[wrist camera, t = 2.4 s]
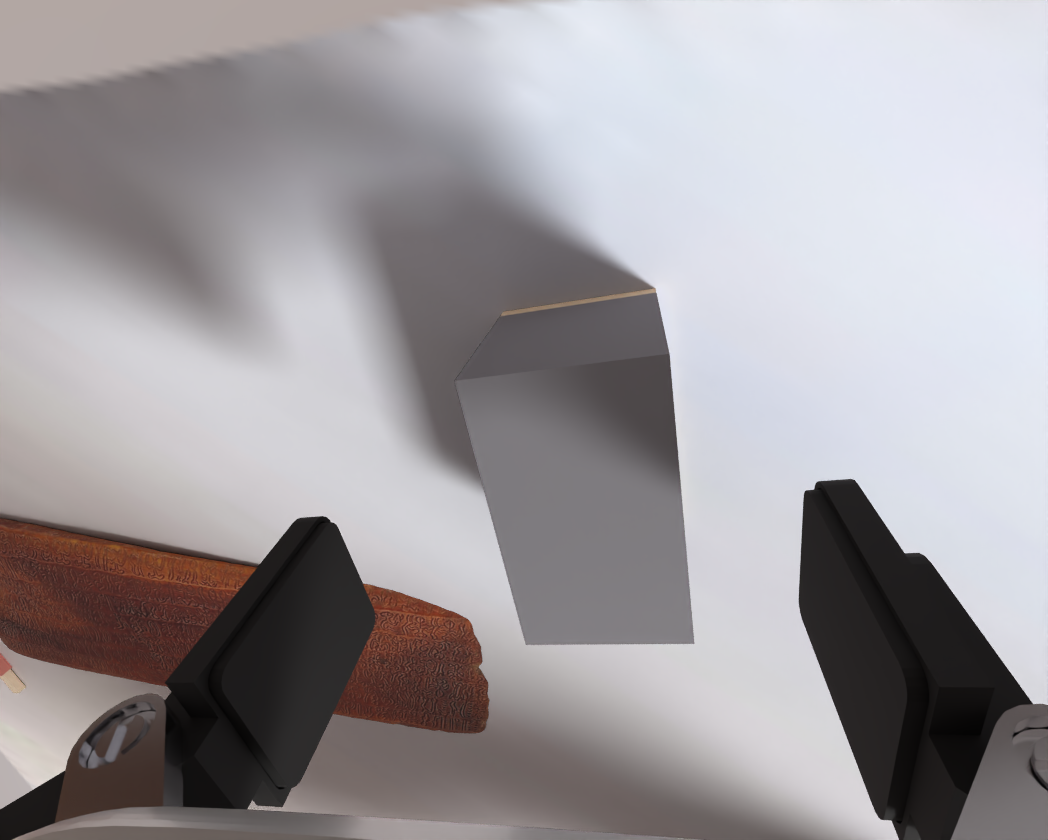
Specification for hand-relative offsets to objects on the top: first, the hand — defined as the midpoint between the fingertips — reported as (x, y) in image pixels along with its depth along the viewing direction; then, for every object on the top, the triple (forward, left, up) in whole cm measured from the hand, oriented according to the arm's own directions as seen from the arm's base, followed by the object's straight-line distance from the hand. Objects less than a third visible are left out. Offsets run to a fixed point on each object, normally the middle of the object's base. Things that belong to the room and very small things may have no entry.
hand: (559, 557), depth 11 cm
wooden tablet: (+19, +10, -8) cm, 23 cm away
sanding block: (0, +1, -8) cm, 7 cm away
